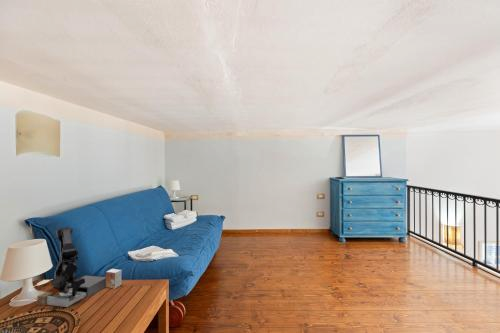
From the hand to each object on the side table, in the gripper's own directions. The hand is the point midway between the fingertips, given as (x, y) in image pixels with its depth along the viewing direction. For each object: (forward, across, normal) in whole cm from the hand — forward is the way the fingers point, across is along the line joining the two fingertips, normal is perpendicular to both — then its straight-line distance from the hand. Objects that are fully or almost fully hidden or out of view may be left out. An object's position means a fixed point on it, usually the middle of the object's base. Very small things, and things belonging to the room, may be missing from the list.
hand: (67, 295), depth 143 cm
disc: (-1, 0, 0) cm, 1 cm away
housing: (+3, 0, +13) cm, 13 cm away
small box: (+3, +13, +21) cm, 25 cm away
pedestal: (+3, -11, -5) cm, 12 cm away
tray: (+3, 0, -1) cm, 3 cm away
